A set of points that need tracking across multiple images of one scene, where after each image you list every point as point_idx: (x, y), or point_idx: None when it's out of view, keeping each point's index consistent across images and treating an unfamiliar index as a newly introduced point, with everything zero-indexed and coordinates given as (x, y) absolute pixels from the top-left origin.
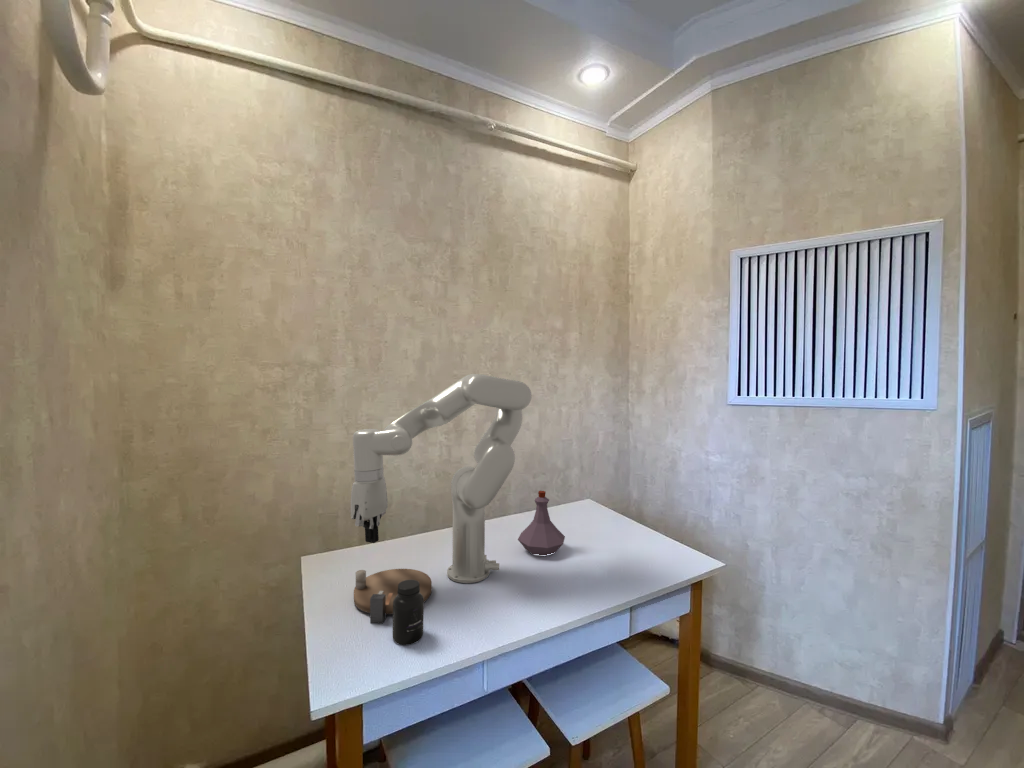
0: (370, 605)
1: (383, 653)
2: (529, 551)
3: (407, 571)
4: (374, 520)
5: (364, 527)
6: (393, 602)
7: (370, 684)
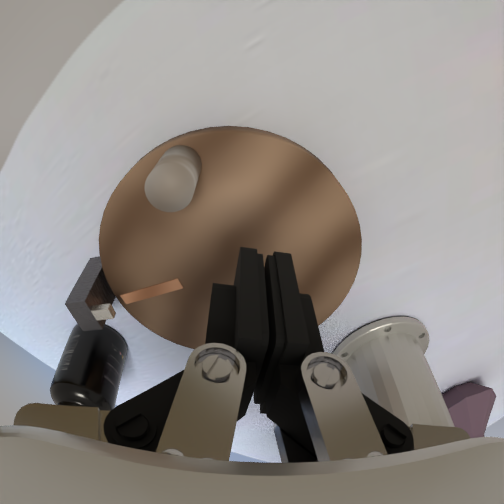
0: (72, 290)
1: (46, 321)
2: (446, 395)
3: (340, 263)
4: (309, 435)
5: (180, 375)
6: (52, 386)
7: (5, 329)
